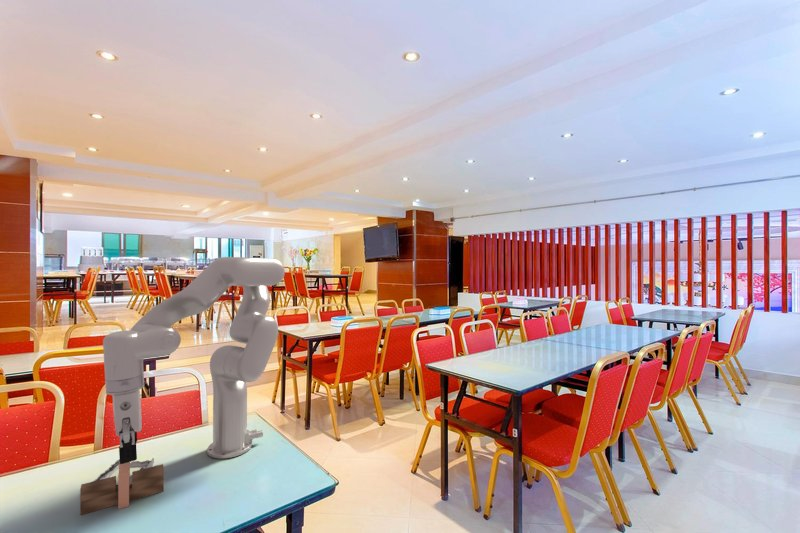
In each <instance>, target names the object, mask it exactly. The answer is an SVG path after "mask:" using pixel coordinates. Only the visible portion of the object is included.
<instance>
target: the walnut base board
mask: <svg viewBox="0 0 800 533" xmlns="http://www.w3.org/2000/svg"><path fill="white" fill-rule="evenodd" d="M144 468H145V467H144ZM164 468H165V467H164V463H162V464H158V465H153V466H152V467H149V468H145V469H141V468H140V469H141V470H140V469H138V470H133V471H132V473H131V474H132V484H130V485H129V502H131V501H134V500H139V499H141V498H145V497H149V496H152V495H155V494H159V493H162V492H164V480H165V479H164V474H165V472H164ZM116 484H117V475H113V476H110V477H109V478H105V479H101V480H97V481H94V480H93V481H90V482H85V483H82V484H81V486H80V491H79V492H80V494H79V496H80V497H79V498H80V503H79V504H80V510H79V512H80V513H79V514H80V516H82V515H84V514H90V513H93V512H96V511H99V510H103V509H107V508H110V507H113V506H117V505H118V488H116Z"/></svg>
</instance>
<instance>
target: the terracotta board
mask: <svg viewBox="0 0 800 533" xmlns="http://www.w3.org/2000/svg"><path fill="white" fill-rule="evenodd" d="M130 463H131V462H128V463H124V464H120V465H119V469H118V476H117V479H118V482H117V484H118V504H117V505H118V506H117V508H118V509H119V510H120V509H124V508H126V507H129V506H130V501H129V485H130V476H131V467H130Z"/></svg>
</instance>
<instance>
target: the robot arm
mask: <svg viewBox="0 0 800 533" xmlns="http://www.w3.org/2000/svg"><path fill="white" fill-rule="evenodd" d="M285 274H286V270H285V267H284V265H283V263H282V262H281V261H279V260H278V259H276V258H259V257H258V258H256V257H244V256H243V257H240V256H222V257H218V258H216V259H215V260H213V261H212V262H211V263H209V264H208V265H207V267H205V268H204V269H203V271H201V272H200V273H199V274H198V275H197V276H196V277H195V278H194V279H193V280H192V281H191V282H190V283H189V284H188V285H187V286H185V288H183V289H181V291H178V292H176V293H174V294H173V295H171V296H169V297H168V298H167V299H165V300H163V301H161V302H160V303H158V304H156V305H155V306H154V307H152V308H151V309H150V310H148V312H146V313H145V314H144V315H143V316H142V317H141V318H140V319H138V320H137V322H136V323H135V324H134V325H133V326H132V327H131V329H130V330H123V331H122V330H121V331H115V332H112V333H109V334H106V335H105V337H104V338H103V340H102V349H103V365H104V366H103V367H104V383H105V384H104V385H105V394H106V395H109V396H112V409H113V410H112V411H113V419H114V420H113V421H114V427H115V429H114V430H115V435H116V436H117V437H119V446H118V454H119V459H120V464H124V463H128V462H130V463H131V462H133V461H137V459H138V454H137V453H138V452H137V443H138V433H140V432H141V431H142V430H143V429H142V428H143V425H142V424H143V423H142V420H143V419H142V401H141V398H142V397H141V391H140V390H141V389H143V388H144V387H145V374H144V359H150V358H159V357H166V356H168V355H170V354H172V353H174V352H175V351H176V350H177V349H178V348H179V347H180V345H181V340H182V338H181V334H180V332H179V331H177V330H176V329H175V328H173V325H175V324H177V323H178V322H180V321H182V320H184V319H185V318H188V317H192V316H194V315H198V314H201V313H203V312H206V311H208V310H209V309H211V307H212V306H213V305H215V303H216V302H217V301H218V300H219V299H220V298H221V296H223V295H224V294H225V292H226V291H227V290H229V289H230V287H232V286H233V287H242V289H243V294H242V295H243V296H242V299H241V302H240V305H239V306H238V308H237V311H236V313H235V315H234V318H233V320H232V322H231V324H230V327H229V330H228V333H229V337H230V339H231V340H233V341H234V342H237V343H239V344H243V345H244V344H245V347H243V346H237V345H232V344H231V345H230V344H229V345H223V346H220V347H218V348H217V349H216V350H214V352H212V355H211V356H210V361H209V370H210V375H211V376H210V377H211V381H212V382H211V383H212V397H213V398H212V442H211V443H210V444H209V445H208V446H207V449H206V451H207V452H206V453H207V455H208V457H210V458H213V459H219V460H221V459H222V460H223V459H230V458H231V459H232V458H235V457H238V456H241V455H243V454H245V453H246V452H248V451H249V450H250V449H251V448H252V446H253V440H254V439H258V438H263V437H264V432H263V430H257V429H252V430H248V389H247V388H248V386H247V383H253V382H256V381H257V380H259V378H260V377H262V374H263V373H264V372H265V370H266V367H267V366H268V365H267V364H268V363H269V360H270V357H271V355H272V353H273V350H274V348H275V345H276V342H277V340H278V336H279V325H278V323H277V321H276V320H275V319H274V317H272V316H270V315H268V314H267V312H268V309H269V307H270V304H271V303H270V302H271V296H270V292H269V289H268V287H269V286H270V287H271V286H275V285H278V284H280V283H281V282H282V280H283V279H284V277H285Z"/></svg>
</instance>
